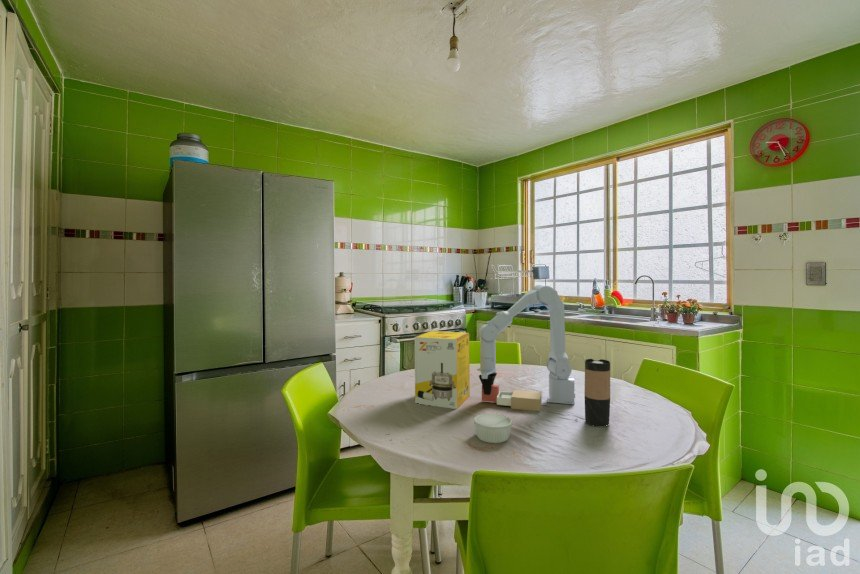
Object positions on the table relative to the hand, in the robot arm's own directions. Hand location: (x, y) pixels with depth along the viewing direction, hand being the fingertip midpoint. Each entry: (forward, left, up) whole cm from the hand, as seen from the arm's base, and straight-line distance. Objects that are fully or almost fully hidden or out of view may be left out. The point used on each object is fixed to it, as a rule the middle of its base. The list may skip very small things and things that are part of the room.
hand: (488, 393), depth 151 cm
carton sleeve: (-14, 0, -3) cm, 15 cm away
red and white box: (-5, 0, -3) cm, 6 cm away
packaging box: (+17, +2, -4) cm, 17 cm away
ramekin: (-7, +31, -4) cm, 32 cm away
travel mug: (-37, +10, -4) cm, 39 cm away
